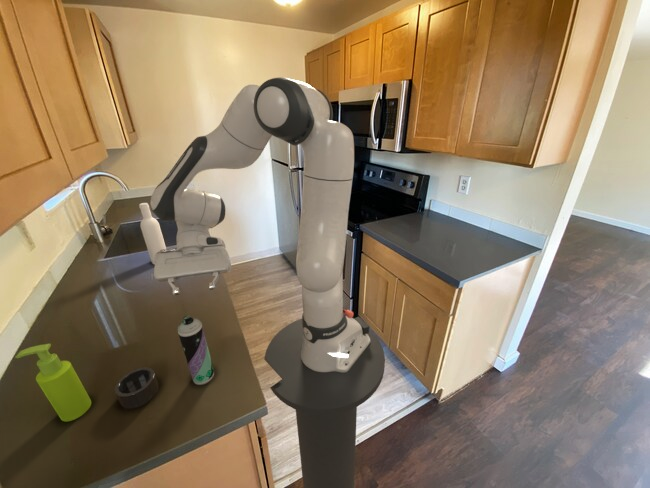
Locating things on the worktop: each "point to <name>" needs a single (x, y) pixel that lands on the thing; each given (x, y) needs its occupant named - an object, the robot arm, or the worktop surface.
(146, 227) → the bottle
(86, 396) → the soap dispenser
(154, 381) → the dark round bowl
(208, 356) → the spray can
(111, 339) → the worktop surface
